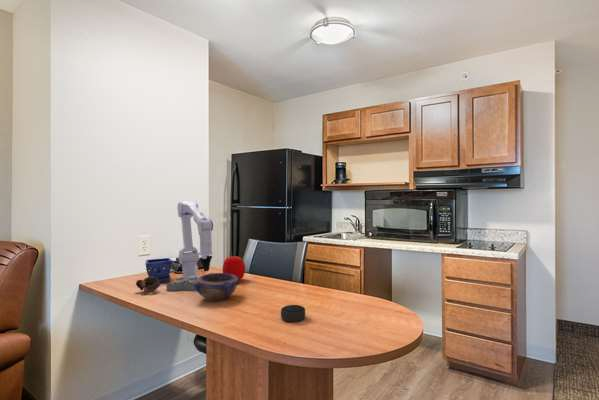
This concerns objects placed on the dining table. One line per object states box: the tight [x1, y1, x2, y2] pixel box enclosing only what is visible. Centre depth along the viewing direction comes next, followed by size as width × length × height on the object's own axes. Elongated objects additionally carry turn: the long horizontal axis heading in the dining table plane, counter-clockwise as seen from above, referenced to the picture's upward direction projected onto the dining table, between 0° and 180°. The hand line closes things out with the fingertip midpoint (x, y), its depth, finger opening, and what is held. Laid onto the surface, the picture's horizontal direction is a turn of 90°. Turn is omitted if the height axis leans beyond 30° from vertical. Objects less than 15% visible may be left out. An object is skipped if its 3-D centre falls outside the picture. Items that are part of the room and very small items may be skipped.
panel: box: [166, 280, 196, 292], centre depth 172 cm, size 8×24×3 cm, turn 87°
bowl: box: [194, 272, 241, 302], centre depth 153 cm, size 18×18×10 cm
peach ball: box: [174, 275, 184, 284], centre depth 173 cm, size 4×4×4 cm
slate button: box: [189, 275, 199, 284], centre depth 172 cm, size 4×4×4 cm
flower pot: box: [145, 257, 172, 284], centre depth 191 cm, size 13×13×12 cm
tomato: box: [222, 254, 246, 281], centre depth 186 cm, size 13×11×14 cm
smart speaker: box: [280, 304, 306, 323], centre depth 124 cm, size 9×9×4 cm
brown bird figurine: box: [135, 276, 161, 295], centre depth 168 cm, size 12×10×8 cm
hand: (206, 270), depth 172 cm, fingers closed
